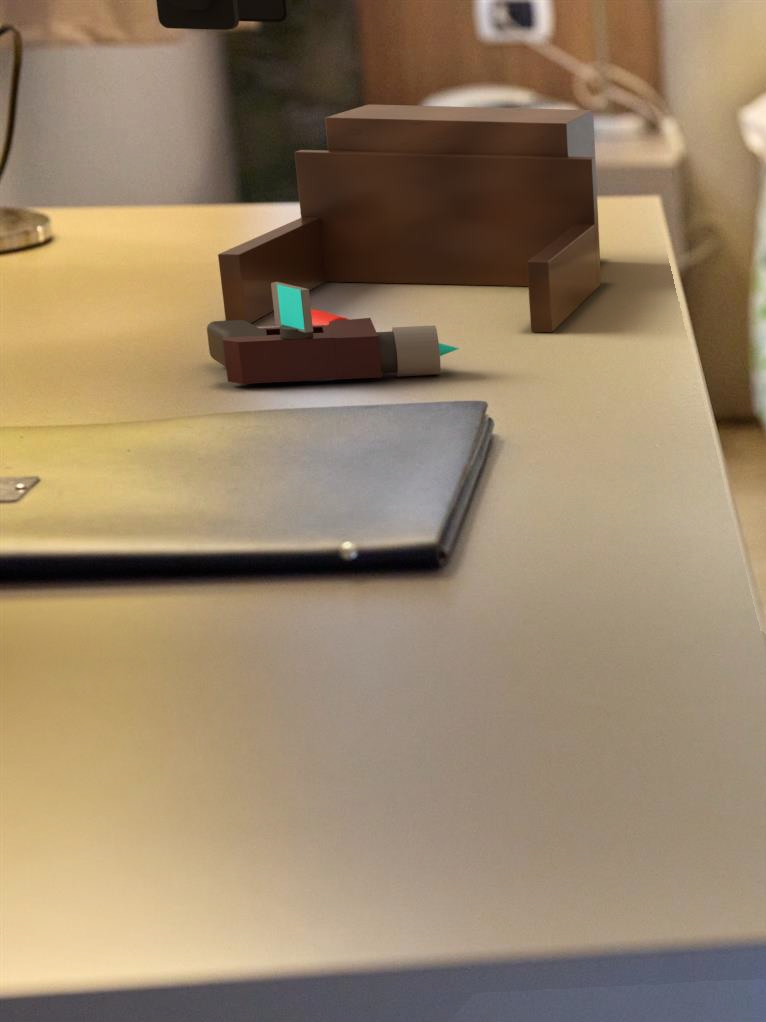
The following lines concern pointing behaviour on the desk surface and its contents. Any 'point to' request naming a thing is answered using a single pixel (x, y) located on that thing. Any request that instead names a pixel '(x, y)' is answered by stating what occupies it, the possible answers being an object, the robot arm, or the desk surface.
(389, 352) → the toy gun
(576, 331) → the desk surface
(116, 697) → the desk surface
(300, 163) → the brown u-shaped frame
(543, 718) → the desk surface
